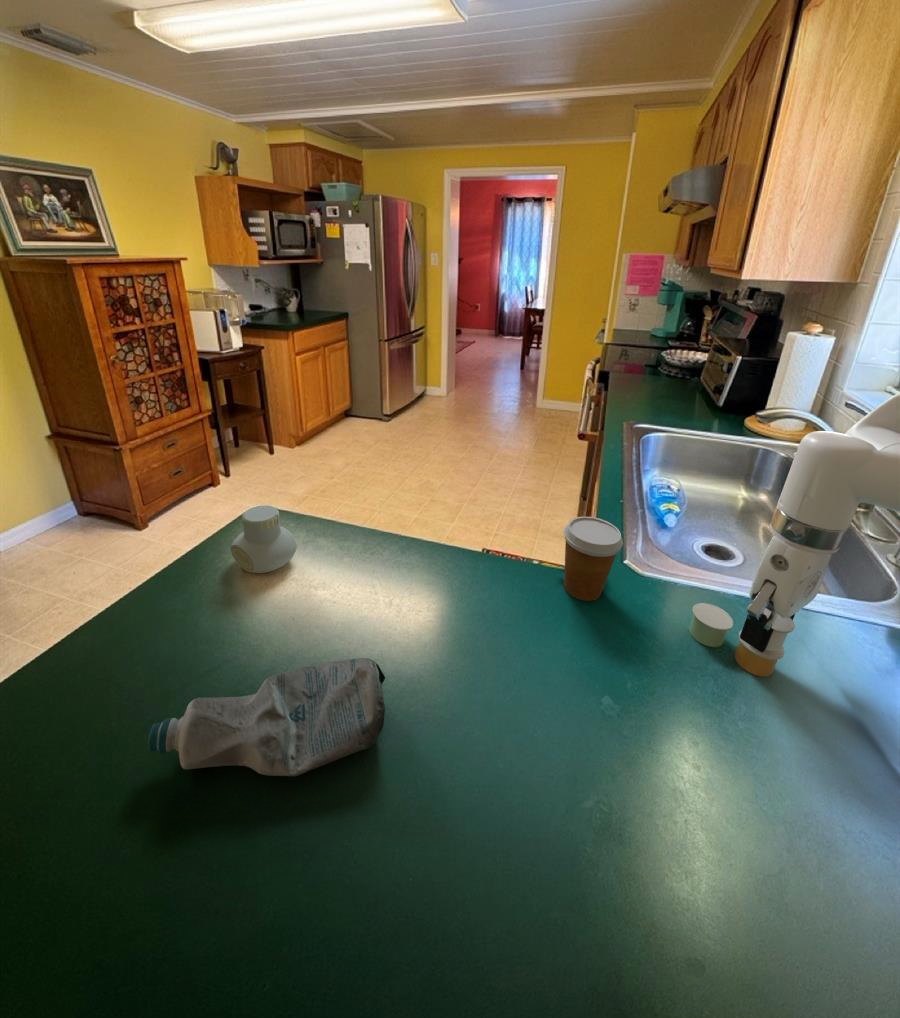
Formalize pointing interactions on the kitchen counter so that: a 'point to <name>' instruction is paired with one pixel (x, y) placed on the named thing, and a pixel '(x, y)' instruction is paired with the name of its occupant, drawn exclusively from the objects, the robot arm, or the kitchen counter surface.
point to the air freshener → (263, 541)
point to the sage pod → (710, 624)
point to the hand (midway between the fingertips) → (763, 635)
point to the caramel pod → (757, 659)
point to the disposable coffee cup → (589, 556)
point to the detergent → (282, 721)
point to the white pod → (778, 631)
